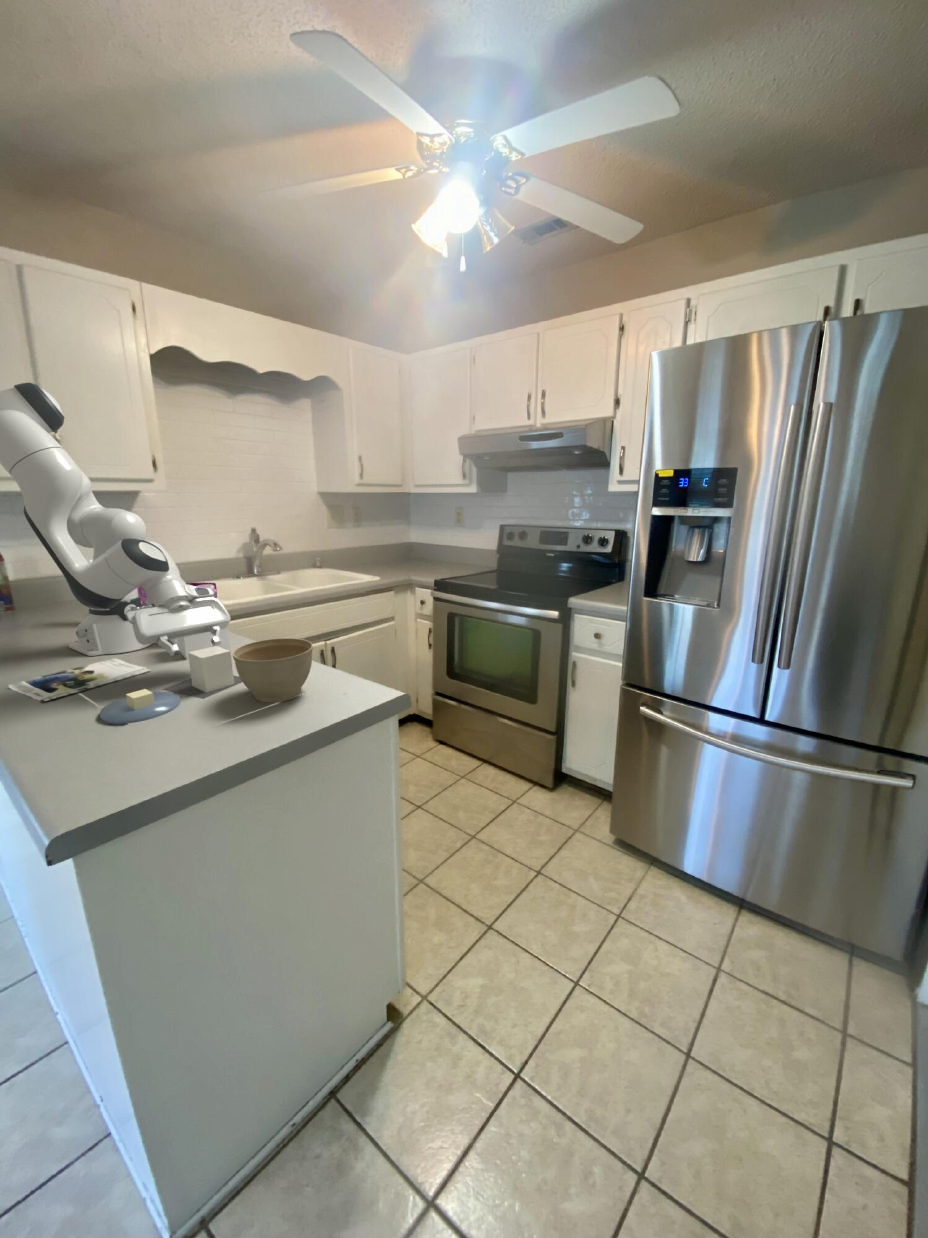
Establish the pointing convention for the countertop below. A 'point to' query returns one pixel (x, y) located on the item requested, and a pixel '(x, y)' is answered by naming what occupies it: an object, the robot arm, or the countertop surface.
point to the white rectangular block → (211, 668)
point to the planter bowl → (274, 667)
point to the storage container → (201, 642)
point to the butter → (140, 699)
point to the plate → (124, 714)
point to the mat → (188, 689)
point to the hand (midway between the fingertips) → (197, 649)
